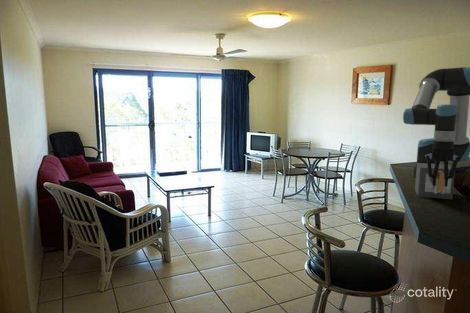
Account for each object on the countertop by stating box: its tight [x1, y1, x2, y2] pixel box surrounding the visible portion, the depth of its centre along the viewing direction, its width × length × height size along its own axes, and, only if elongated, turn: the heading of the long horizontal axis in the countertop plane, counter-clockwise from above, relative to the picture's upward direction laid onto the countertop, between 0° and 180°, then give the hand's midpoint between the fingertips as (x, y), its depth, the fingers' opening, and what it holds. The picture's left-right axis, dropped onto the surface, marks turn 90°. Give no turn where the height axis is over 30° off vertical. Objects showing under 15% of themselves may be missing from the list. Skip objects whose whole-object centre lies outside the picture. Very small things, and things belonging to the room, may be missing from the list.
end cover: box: [425, 171, 452, 194], centre depth 155 cm, size 19×10×10 cm, turn 158°
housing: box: [414, 162, 456, 200], centre depth 163 cm, size 14×14×14 cm
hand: (438, 193), depth 150 cm, fingers closed on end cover, 2 cm apart
